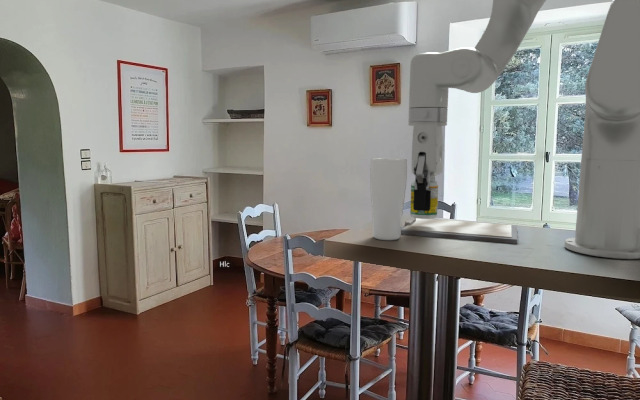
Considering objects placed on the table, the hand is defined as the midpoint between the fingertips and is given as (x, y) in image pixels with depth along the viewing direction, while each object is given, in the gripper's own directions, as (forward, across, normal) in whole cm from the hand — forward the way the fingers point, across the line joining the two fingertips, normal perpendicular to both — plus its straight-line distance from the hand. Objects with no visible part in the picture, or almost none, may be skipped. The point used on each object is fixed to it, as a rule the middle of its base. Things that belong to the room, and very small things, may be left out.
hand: (424, 207), depth 97 cm
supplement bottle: (+2, 0, 0) cm, 2 cm away
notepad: (+5, +3, -7) cm, 9 cm away
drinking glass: (+5, -10, +5) cm, 12 cm away
